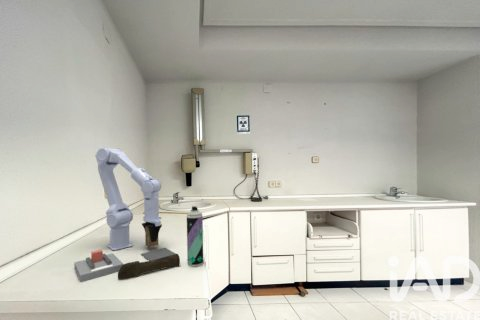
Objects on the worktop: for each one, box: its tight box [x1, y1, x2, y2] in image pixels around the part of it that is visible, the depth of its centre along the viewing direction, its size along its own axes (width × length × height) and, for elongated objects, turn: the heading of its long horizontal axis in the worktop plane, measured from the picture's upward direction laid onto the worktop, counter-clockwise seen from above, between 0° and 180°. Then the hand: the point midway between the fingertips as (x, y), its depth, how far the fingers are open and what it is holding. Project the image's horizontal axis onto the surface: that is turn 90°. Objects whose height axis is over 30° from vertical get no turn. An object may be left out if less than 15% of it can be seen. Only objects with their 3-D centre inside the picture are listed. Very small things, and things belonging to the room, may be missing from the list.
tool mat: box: [140, 247, 177, 261], centre depth 91 cm, size 10×10×1 cm
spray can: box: [186, 205, 204, 268], centre depth 82 cm, size 6×6×20 cm
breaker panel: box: [73, 252, 124, 283], centre depth 79 cm, size 14×12×3 cm
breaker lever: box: [90, 249, 104, 263], centre depth 81 cm, size 2×3×3 cm
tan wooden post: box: [144, 226, 159, 248], centre depth 99 cm, size 4×4×8 cm
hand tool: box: [117, 253, 181, 280], centre depth 77 cm, size 19×4×5 cm, turn 121°
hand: (151, 240), depth 99 cm, fingers closed on tan wooden post, 4 cm apart
